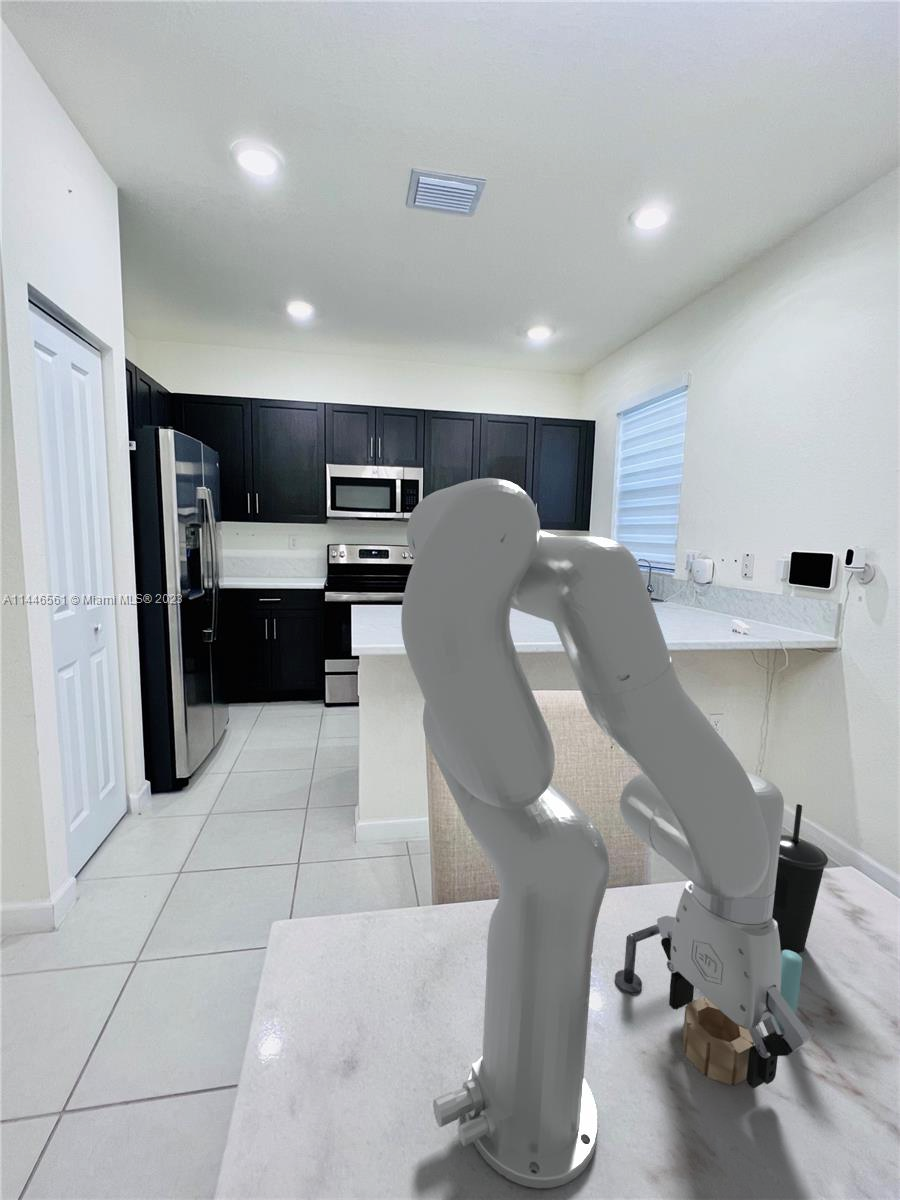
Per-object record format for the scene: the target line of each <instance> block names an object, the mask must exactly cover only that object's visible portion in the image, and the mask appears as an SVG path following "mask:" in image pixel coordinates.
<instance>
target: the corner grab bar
mask: <svg viewBox="0 0 900 1200" xmlns="http://www.w3.org/2000/svg"><path fill="white" fill-rule="evenodd" d="M657 935H660V931H659V927H658V923H656V924H654V925H651V926H648V927H646V928H643V929H640V930H637V931H634V932H632V933H629V934H628V935H627V936H626V941H625V952H624V954H625V955H624V956H625V957H624V964H623V965H624V967H623V969H621V970H618V971H617V972H616V973H615V975H614V982H615V985H616V986H617V988H618V989H620V991H621V990H622V991H623V992H625V993H626V994H631V995H634V994H638V993H640V992H641V991H642V989H643V981H642V980H641V978H640V976H638V974H637V973H636V972H635V969H636V968H635V966H636V955H637V943H638V942H641V941H644V940H646V939H648V938H651V937H654V936H657Z"/></svg>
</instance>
